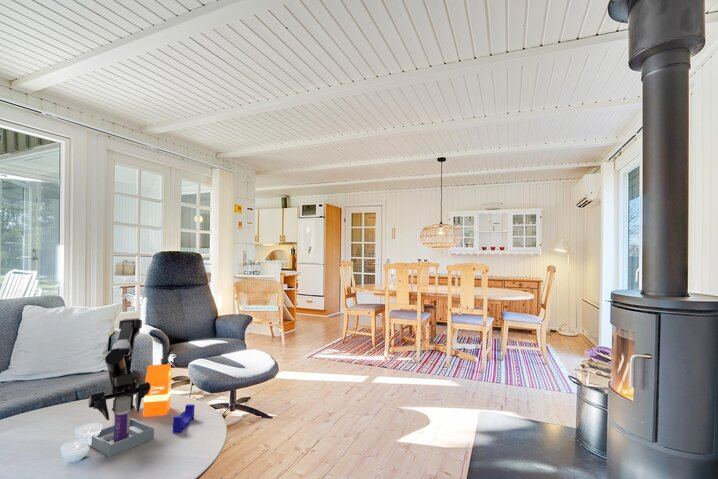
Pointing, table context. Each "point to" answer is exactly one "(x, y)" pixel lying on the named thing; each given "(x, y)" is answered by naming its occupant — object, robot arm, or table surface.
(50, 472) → the table surface
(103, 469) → the table surface
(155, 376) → the orange juice
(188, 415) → the cable clip
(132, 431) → the walled box
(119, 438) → the container
